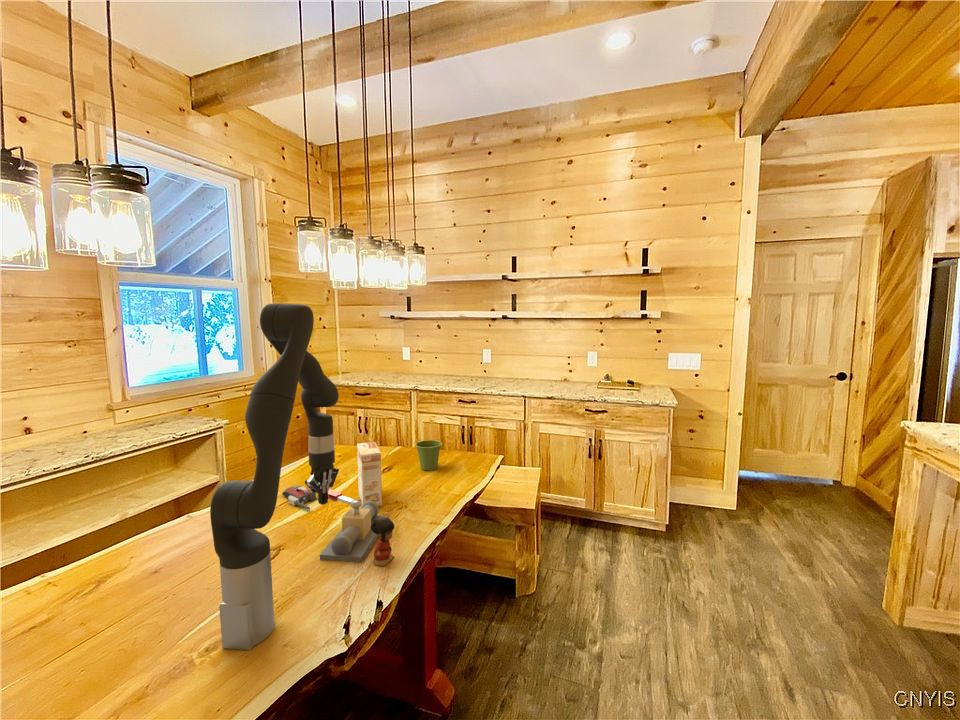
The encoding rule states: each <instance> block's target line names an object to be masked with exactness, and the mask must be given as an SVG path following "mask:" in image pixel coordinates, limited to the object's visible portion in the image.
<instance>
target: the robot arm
mask: <svg viewBox="0 0 960 720" xmlns="http://www.w3.org/2000/svg"><path fill="white" fill-rule="evenodd" d="M314 319H315V318H314V312H313V310H312V309H311V307H310V306H309V305H307V304H301V303H299V304H298V303H282V302H281V303H279V302H278V303H277V302H276V303H268V304H266V305H265V306H263V307H262V309H261V311H260V315H259V325H260V329H261V331H262V334H263V335H264V337H265V338H266V340H267V341H268V342H269V344H271V346H272V347H273V348H274V349H275V350H276V352H277V353H278V354H279V355H280V357H278V359H277V360H276V362H275V363H274V364H272V365H271V367H269V368H268V369H267V370H266V372H264V373H263V374H262V375H261V376H260V378H259V379H258V380H257V381H256V382H255V383H254V385H253V386H252V389H251V391H250V393H249V398H248V402H247V406H246V410H245V415H244V420H245V425H246V428H247V431H248V435H249V437H250V439H251V441H252V444H253V447H254V450H255V456H256V462H255V463H256V466H255V471H254V472H255V473H254V477H253V481H252V480H227V481H225V482H223V483H222V484H220V485H219V486H218V487H217V488H216V489H215V491H214V493H213V496H212V498H211V500H210V508H209V510H210V511H209V516H210V524H211V525H210V527H211V532H212V538H213V546H214V551H215V554H216V556H217V557H218V559H219V569H220V570H219V571H220V585H221V598H222V599H221V600H222V602H220V604H219V606H218V607H219V618H220V619H219V620H220V634H221V635H220V636H221V648H223V649H229V650H243V651H251V650H252V648H253V647H254V646H256V645H258V644H260V643H261V642H263V641H264V640H266V639H267V638H268V637H269V636H270V635H271V634H272V632H273V631H274V629H275V614H274V612H275V610H274V607H275V606H274V597H273V596H274V595H273V591H274V590H273V577H272V576H273V573H272V561H271V560H272V557H271V543H270V542H271V541H270V539H269V537H268V536H267V534H265V533H262V532H261V531H259V530H257V529H262V528H264V527H266V526H267V525H268V524H269V523H270V522H271V519H272V517H273V516H274V513H275V509H276V506H277V501H278V495H279V488H280V479H281V471H282V463H283V456H284V451H285V445H286V439H287V436H288V431H289V426H290V423H291V419H292V415H293V410H294V406H295V401H296V395H297V389H298V384H299V386H300V387H301V388H302V389H301V392H300V401H301V404H302V407H303V410H304V412H305V416H306V419H307V424H308V425H307V426H308V442H307V443H308V444H307V449H308V450H307V451H308V465H309V466H310V469H311V471H310V477H309V478H308V479H305V480H304V484H305V485H306V486H307V488H308V489H310V490H311V491H312V492H313V493H316V494H317V498H318V499H317V501H318V504H319V505H322V506H323V505H326V504H328V503H329V499H328V491H329V489H331V488H333V487H334V484H335V481H336V479H337V477H338V474H339V472H340V471H339V470H340V469H339V468H337V467H334V464H335V463H336V451H335V450H336V447H335V445H336V444H335V437H334V419H333V416H332V415H330V414H329V413H328V414H327V413H323V412H320V411H319V410H318V408H332V407H334V406H335V405H336V404H337V403H338V401H339V396H340V395H339V390H338V388H337V386H336V384H335V383H334V382H333V381H332V380H330V379H329V377H328V376H327V375H325V374H324V371H323V369H322V367H321V364H320V362H319V361H318V359H317V358H316V357H315V356H314V355H313V354H312V353H311V352H309V351H308V347H309V344H310V341H311V337H312V334H313V329H314V323H315V322H314V321H315V320H314Z"/></svg>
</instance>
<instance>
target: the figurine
mask: <svg viewBox="0 0 960 720" xmlns="http://www.w3.org/2000/svg"><path fill="white" fill-rule="evenodd" d="M394 529H395V524H394V523H393V521H392V519H390V517H389V518H381V519H374V520H373V523H372V525H371V530H372V531H373V532H374V533H375V534H378V535H379V536H378V539H377V540H376V543H375V544H376V546H375V548H374V550H373V557H374V559H373V561H372V562H373V564H374V565H375V566H378V567H379V566H380V567H384V566H386V565H388V564H389V563H390V562H392V560H393V559H394V556H393V554H392V551H393V550H392V549H393V548H392V547H391V543H390V540H391V539H392V538H393V531H394Z"/></svg>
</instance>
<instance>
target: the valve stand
mask: <svg viewBox="0 0 960 720" xmlns="http://www.w3.org/2000/svg"><path fill="white" fill-rule="evenodd" d="M379 510H380V508H379V506H378V505H377V504H376V503H375V502H373V501H367V502H365V503H364V504H363V506H361V507H359V508H352V507H350V508H349V509H348V510H347V512H346V513H345V514H344V515H343V516H342V517H341V524H342V526H341V527H342V528H341V529H340V530H339V531H338V532H337V534H336V535H335V536H334V537H333V538H332V540H330V542H329V543H328V544H327V545H326V546H325V548H324V549H323V550H322V552H320V554H319V561H334V562H348V563H349V562H352V563H362V562H363V561H364V559H365V558H366V556H367V555H368V553H369V552H370V551H371V549H372V548H373V545H374V544H375V542H377V540H378V539H379V535H378V534H375V533H374V532H373V531H372V530H371V525H372V523H373V520H374V519H381V518H389V519H390V516H389V515H386V514H385V515H383V514H382V515H381V514H379Z"/></svg>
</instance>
